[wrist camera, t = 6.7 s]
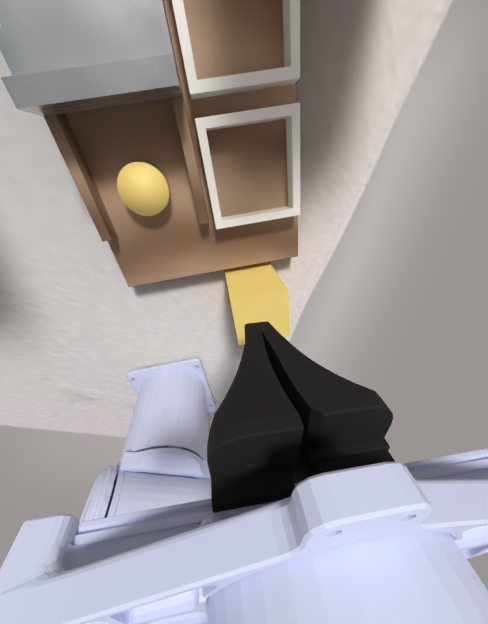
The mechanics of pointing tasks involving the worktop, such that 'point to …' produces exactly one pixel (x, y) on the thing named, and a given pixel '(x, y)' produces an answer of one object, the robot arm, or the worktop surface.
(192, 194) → the board
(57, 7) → the lid
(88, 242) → the worktop surface
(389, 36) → the worktop surface
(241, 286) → the peg
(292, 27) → the white frame
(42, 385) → the worktop surface
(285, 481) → the robot arm
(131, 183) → the yellow round disc
